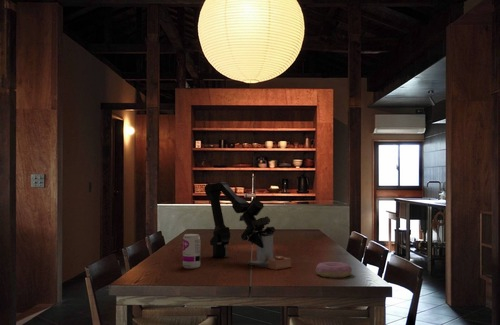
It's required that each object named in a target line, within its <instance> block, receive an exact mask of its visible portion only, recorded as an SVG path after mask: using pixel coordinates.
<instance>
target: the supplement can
mask: <svg viewBox="0 0 500 325" xmlns="http://www.w3.org/2000/svg"><path fill="white" fill-rule="evenodd" d="M182 267H183V268H184V269H197V268H199V267H201V236H200V234H199V233H198V234H197V233H186V234H184V235H183V237H182Z"/></svg>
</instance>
